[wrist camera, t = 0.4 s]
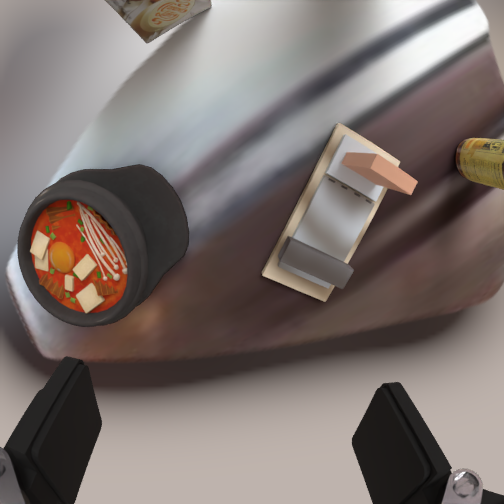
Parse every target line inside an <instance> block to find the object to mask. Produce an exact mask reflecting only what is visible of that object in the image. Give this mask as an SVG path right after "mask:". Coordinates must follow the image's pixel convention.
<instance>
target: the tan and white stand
mask: <svg viewBox="0 0 504 504" xmlns="http://www.w3.org/2000/svg"><path fill="white" fill-rule="evenodd" d="M325 173H326V174H328V175H330V176H332V177H334V178H335V179H337V180H339V181H341V182H343V183H344V184H346V185H348V186H350V187H351V188H353V189H355V190H356V191H358V192H360V193H362V194H363V195H365V196H367V197H368V198H370V199H372V200H373V201H377V199H378V197H379V195H380V193H381V191H382V189H383V187H386V188H389V189H393V190H396V191H399V192H403V193H406V194H409V195H411V194H412V192H413V190H414V188H415V186H416V184H417V182H418V181H416V180H415V179H414V178H412V177H411V176H409V175H408V174H407V173H405V172H404V171H402V170H401V169H399V168H398V167H397V166H395V165H394V164H392V163H391V162H389V161H388V160H386V159H385V158H383V157H382V156H380V155H379V154H377V153H375V152H374V151H372V150H370V149H369V148H367V147H366V146H364V145H363V144H361V143H359V142H358V141H356V140H354V139H353V138H351V137H349V136H348V135H346V134H345V135H343V137H342V139H341V141H340V143H339V145H338V147H337V149H336V151H335V153H334V155H333V157H332V159H331V161H330V163H329V165H328V167H327V169H326V171H325Z"/></svg>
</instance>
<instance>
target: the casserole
mask: <svg viewBox="0 0 504 504" xmlns="http://www.w3.org/2000/svg"><path fill="white" fill-rule="evenodd" d="M188 245H189V228H188V222H187V217H186V214H185V211H184V208H183V206H182V203H181V200H180V199H179V197H178V195H177V194H176V192H175V190H174V189H173V187H172V186H171V185H170V184H169V183H168V181H167V180H166V179H165V178H164V177H163V176H162V175H161V174H160V173H158V172H157V171H156V170H154V169H153V168H151V167H148V166H144V165H140V164H139V165H133V166H127V167H121V168H116V169H84V170H80V171H76V172H72V173H70V174H68V175H66V176H65V177H63V178H61V179H60V180H59V181H57V182H56V183H55V184H53V185H51V186H50V187H48V188H46V189H44V190H43V191H42V192H41V193H40V194H39V195H38V196H37V197H36V198H35V199H34V201H33V202H32V204H31V205H30V207H29V208H28V211H27V213H26V216H25V218H24V220H23V222H22V225H21V227H20V231H19V237H18V259H19V265H20V269H21V272H22V275H23V278H24V280H25V282H26V284H27V286H28V288H29V290H30V292H31V293H32V295H33V296H34V298H35V299H36V300H37V301H38V302H39V303H40V305H41V306H42V307H43V308H44V309H46V310H47V311H48V312H49V313H50V314H52V315H53V316H55V317H56V318H58V319H60V320H62V321H64V322H66V323H69V324H72V325H76V326H82V327H93V326H100V325H107V324H111V323H114V322H117V321H118V320H120V319H122V318H124V317H126V316H127V315H128V314H129V313H130V312H131V311H132V310H133V309H134V308H135V307H136V306H138V305H140V304H141V303H142V302H143V301H144V300H145V299H146V298H148V297H149V295H150V294H151V293H152V291H153V290H154V288H155V287H156V285H157V284H158V282H159V281H160V280H161V278H162V277H163V275H164V274H165V273H166V272H167V271H168V270H169V269H171V268H172V267H173V266H174V265H175V264H176V263H177V262H178V261H179V260H180V259H181V258H182V257H183V256H184V255H185V252H186V250H187V247H188Z"/></svg>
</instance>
